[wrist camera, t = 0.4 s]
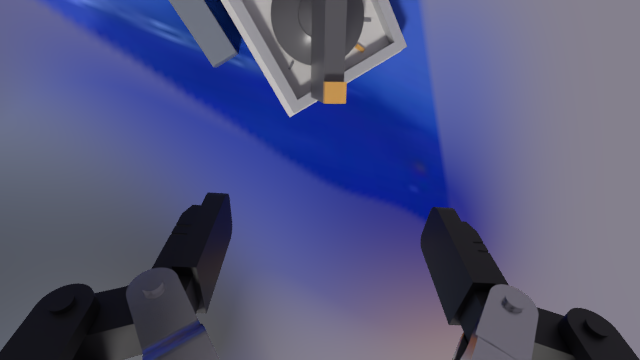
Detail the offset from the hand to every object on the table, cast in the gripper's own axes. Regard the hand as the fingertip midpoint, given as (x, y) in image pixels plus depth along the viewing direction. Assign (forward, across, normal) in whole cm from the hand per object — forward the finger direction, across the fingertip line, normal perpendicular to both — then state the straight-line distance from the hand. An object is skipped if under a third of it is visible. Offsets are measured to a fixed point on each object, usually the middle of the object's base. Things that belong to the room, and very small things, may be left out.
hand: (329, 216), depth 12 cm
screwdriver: (+25, +14, -5) cm, 29 cm away
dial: (+24, +1, -3) cm, 25 cm away
